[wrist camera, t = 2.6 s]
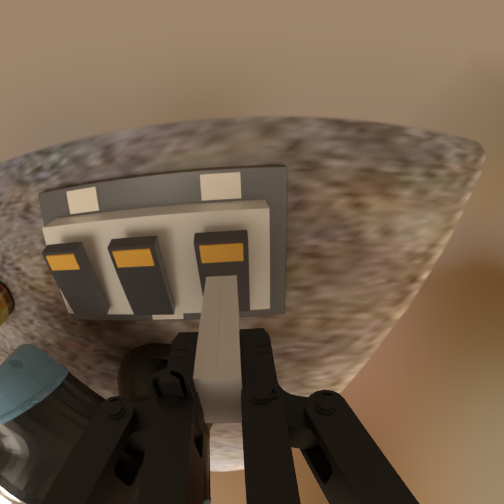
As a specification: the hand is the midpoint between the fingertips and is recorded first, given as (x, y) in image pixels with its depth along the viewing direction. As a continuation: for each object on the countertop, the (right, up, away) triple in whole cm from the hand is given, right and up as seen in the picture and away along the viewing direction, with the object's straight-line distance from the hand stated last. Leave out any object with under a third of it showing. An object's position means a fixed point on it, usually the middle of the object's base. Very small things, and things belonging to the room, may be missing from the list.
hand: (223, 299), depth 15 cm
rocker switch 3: (-1, 0, +9) cm, 9 cm away
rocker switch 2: (-8, 0, +9) cm, 12 cm away
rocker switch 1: (-15, 0, +9) cm, 17 cm away
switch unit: (-8, +3, +15) cm, 17 cm away
